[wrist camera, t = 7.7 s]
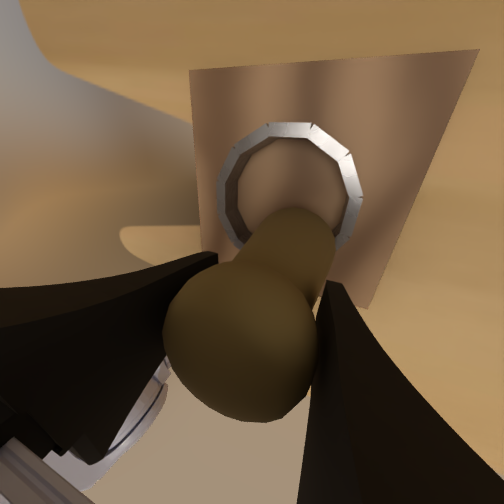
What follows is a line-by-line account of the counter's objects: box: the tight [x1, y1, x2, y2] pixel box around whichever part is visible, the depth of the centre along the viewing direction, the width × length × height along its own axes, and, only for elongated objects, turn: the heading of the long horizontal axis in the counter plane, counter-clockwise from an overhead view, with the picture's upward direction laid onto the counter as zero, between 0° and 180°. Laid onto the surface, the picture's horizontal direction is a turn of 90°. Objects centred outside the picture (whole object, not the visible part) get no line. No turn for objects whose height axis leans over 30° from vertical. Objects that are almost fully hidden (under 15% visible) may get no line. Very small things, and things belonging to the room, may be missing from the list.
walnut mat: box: [189, 49, 480, 309], centre depth 17 cm, size 18×18×1 cm
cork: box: [162, 207, 336, 423], centre depth 10 cm, size 6×6×11 cm
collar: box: [216, 122, 363, 251], centre depth 16 cm, size 11×11×2 cm
